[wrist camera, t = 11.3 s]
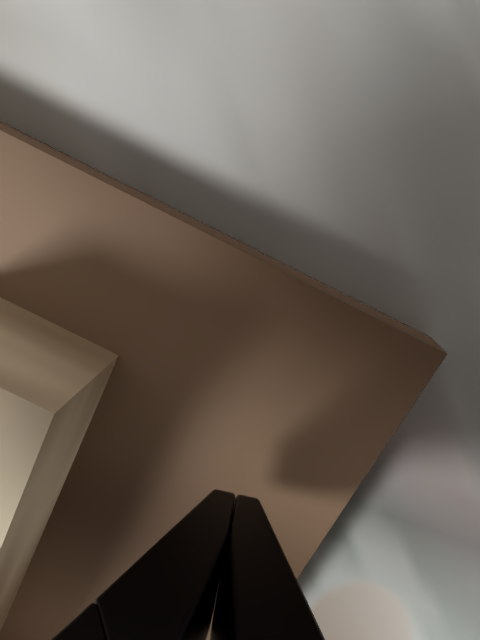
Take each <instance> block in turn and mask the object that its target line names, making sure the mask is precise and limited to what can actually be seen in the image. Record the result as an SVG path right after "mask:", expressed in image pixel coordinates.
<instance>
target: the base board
mask: <svg viewBox="0 0 480 640" xmlns="http://www.w3.org/2000/svg"><path fill="white" fill-rule="evenodd" d="M0 297H1V298H3V299H5V300H7V301H9V302H11V303H13V304H15V305H18V306H20V307H22V308H24V309H26V310H28V311H30V312H32V313H34V314H36V315H38V316H40V317H42V318H44V319H46V320H48V321H50V322H52V323H54V324H56V325H58V326H60V327H62V328H64V329H66V330H68V331H70V332H72V333H74V334H76V335H78V336H80V337H82V338H84V339H86V340H88V341H90V342H92V343H94V344H97V345H99V346H101V347H103V348H105V349H107V350H109V351H111V352H113V353H115V354H117V355H119V356H118V358H117V360H116V363H115V365H114V367H113V370H112V372H111V374H110V377H109V379H108V382H107V384H106V386H105V389H104V391H103V393H102V396H101V398H100V400H99V403H98V405H97V407H96V410H95V412H94V414H93V417H92V419H91V421H90V424H89V426H88V428H87V431H86V433H85V435H84V438H83V440H82V442H81V445H80V447H79V449H78V452H77V454H76V456H75V459H74V461H73V463H72V466H71V468H70V470H69V473H68V475H67V477H66V480H65V482H64V484H63V487H62V489H61V491H60V494H59V496H58V498H57V501H56V503H55V505H54V508H53V510H52V512H51V515H50V517H49V519H48V522H47V524H46V526H45V529H44V531H43V533H42V536H41V538H40V540H39V543H38V545H37V547H36V550H35V552H34V554H33V557H32V559H31V561H30V564H29V566H28V569H27V571H26V573H25V576H24V578H23V580H22V583H21V585H20V587H19V590H18V592H17V594H16V597H15V599H14V601H13V604H12V606H11V608H10V611H9V613H8V615H7V618H6V620H5V622H4V625H3V627H2V629H1V632H0V640H51V639H52V638H53V637H54V636H55V635H56V634H58V633H59V632H60V631H61V630H62V629H63V628H64V627H66V626H67V625H68V624H69V623H70V622H71V621H72V620H74V619H75V618H76V617H77V616H78V615H79V614H80V613H81V612H82V611H83V610H84V609H85V608H86V607H87V606H88V605H90V604H91V603H95V600H96V598H97V597H99V596H100V595H101V594H102V593H103V592H104V591H105V590H106V589H107V588H108V587H109V586H110V585H111V584H113V583H114V582H115V581H116V580H117V579H118V578H119V577H120V576H121V575H122V574H123V573H124V572H125V571H127V570H128V569H129V568H130V567H131V566H132V565H133V564H134V563H135V562H136V561H137V560H138V559H139V558H141V557H142V556H143V555H144V554H145V553H146V552H147V551H148V550H149V549H150V548H151V547H152V546H153V545H155V544H156V543H157V542H158V541H159V540H160V539H161V538H162V537H163V536H164V535H165V534H166V533H167V532H169V531H170V530H171V529H172V528H173V527H174V526H175V525H176V524H177V523H178V522H179V521H180V520H181V519H183V518H184V517H185V516H186V515H187V514H188V513H189V512H190V511H191V510H192V509H193V508H194V507H195V506H197V505H198V504H199V503H200V502H201V501H202V500H203V499H204V498H205V497H206V496H207V495H208V494H209V493H210V492H212V491H213V490H215V489H218V490H223V491H227V492H232V493H234V494H235V499H236V496H237V495H239V494H241V495H245V496H250V497H254V498H257V499H258V500H259V501H260V503H261V505H262V507H263V509H264V511H265V513H266V515H267V518H268V520H269V522H270V524H271V526H272V528H273V530H274V532H275V535H276V537H277V539H278V541H279V543H280V545H281V547H282V549H283V552H284V554H285V556H286V558H287V560H288V562H289V564H290V566H291V569H292V571H293V573H294V575H295V577H296V579H297V578H298V576H299V575H300V573H301V572H302V570H303V569H304V567H305V566H306V564H307V563H308V561H309V560H310V558H311V557H312V555H313V554H314V552H315V551H316V549H317V548H318V546H319V545H320V543H321V542H322V540H323V539H324V537H325V536H326V534H327V533H328V531H329V530H330V528H331V527H332V525H333V524H334V522H335V521H336V519H337V518H338V516H339V515H340V513H341V512H342V510H343V509H344V507H345V506H346V504H347V503H348V501H349V500H350V498H351V497H352V495H353V494H354V492H355V491H356V489H357V488H358V486H359V485H360V483H361V482H362V480H363V479H364V477H365V476H366V474H367V473H368V471H369V470H370V469H371V467H372V466H373V464H374V463H375V461H376V460H377V458H378V457H379V455H380V454H381V452H382V451H383V449H384V448H385V446H386V445H387V443H388V442H389V440H390V439H391V437H392V436H393V434H394V433H395V431H396V430H397V428H398V427H399V425H400V424H401V422H402V421H403V419H404V418H405V416H406V415H407V413H408V412H409V410H410V409H411V407H412V406H413V404H414V403H415V401H416V400H417V398H418V397H419V395H420V394H421V392H422V391H423V389H424V388H425V386H426V385H427V383H428V382H429V380H430V379H431V377H432V376H433V374H434V373H435V371H436V370H437V368H438V367H439V365H440V364H441V362H442V361H443V359H444V358H445V356H446V355H447V353H446V352H445V351H444V350H443V349H442V348H441V347H440V346H439V345H438V344H437V343H436V342H435V341H434V340H433V339H432V338H431V337H429V336H427V335H425V334H423V333H421V332H419V331H417V330H415V329H413V328H411V327H409V326H407V325H405V324H403V323H401V322H399V321H397V320H395V319H393V318H391V317H389V316H387V315H385V314H383V313H381V312H379V311H377V310H375V309H373V308H371V307H369V306H367V305H365V304H363V303H361V302H359V301H357V300H355V299H353V298H351V297H349V296H347V295H345V294H343V293H341V292H339V291H337V290H335V289H333V288H331V287H329V286H327V285H325V284H323V283H321V282H319V281H317V280H315V279H313V278H311V277H309V276H307V275H305V274H303V273H301V272H299V271H297V270H295V269H293V268H291V267H289V266H287V265H285V264H283V263H281V262H279V261H277V260H275V259H273V258H271V257H269V256H267V255H265V254H263V253H261V252H259V251H257V250H255V249H253V248H251V247H249V246H247V245H245V244H243V243H241V242H239V241H237V240H235V239H233V238H231V237H229V236H227V235H225V234H223V233H221V232H219V231H217V230H215V229H213V228H211V227H209V226H207V225H205V224H203V223H201V222H199V221H197V220H195V219H193V218H191V217H189V216H187V215H185V214H183V213H181V212H179V211H177V210H175V209H173V208H171V207H169V206H167V205H165V204H163V203H161V202H159V201H157V200H155V199H153V198H151V197H149V196H147V195H145V194H143V193H141V192H139V191H137V190H135V189H133V188H131V187H129V186H127V185H125V184H123V183H121V182H119V181H117V180H115V179H113V178H111V177H109V176H107V175H105V174H103V173H101V172H99V171H97V170H95V169H93V168H91V167H89V166H87V165H85V164H83V163H81V162H79V161H77V160H75V159H73V158H71V157H69V156H67V155H65V154H63V153H61V152H59V151H57V150H55V149H53V148H51V147H49V146H47V145H45V144H43V143H41V142H39V141H37V140H35V139H33V138H31V137H29V136H27V135H25V134H23V133H21V132H19V131H17V130H15V129H13V128H11V127H9V126H7V125H5V124H3V123H1V122H0ZM234 504H235V503H234ZM216 597H217V596H216ZM215 602H216V601H215ZM214 607H215V606H214ZM213 612H214V611H213ZM212 618H213V615H212ZM211 625H212V620H211V624H210V629H209V632H208V636H207V639H206V640H210V632H211Z"/></svg>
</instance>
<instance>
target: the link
mask: <svg viewBox="0 0 480 640" xmlns="http://www.w3.org/2000/svg"><path fill="white" fill-rule="evenodd" d="M118 356H119V355H117V354H115V353H113V352H111V351H109V350H107V349H105V348H103V347H101V346H99V345H97V344H94V343H92V342H90V341H88V340H86V339H84V338H82V337H80V336H78V335H76V334H74V333H72V332H70V331H68V330H66V329H64V328H62V327H60V326H58V325H56V324H54V323H52V322H50V321H48V320H46V319H44V318H42V317H40V316H38V315H36V314H34V313H32V312H30V311H28V310H26V309H24V308H22V307H20V306H18V305H15V304H13V303H11V302H9V301H7V300H5V299H3V298H1V297H0V632H1V629H2V627H3V625H4V622H5V620H6V618H7V615H8V613H9V611H10V608H11V606H12V604H13V601H14V599H15V597H16V594H17V592H18V590H19V587H20V585H21V583H22V580H23V578H24V576H25V573H26V571H27V569H28V566H29V564H30V561H31V559H32V557H33V554H34V552H35V550H36V547H37V545H38V543H39V540H40V538H41V536H42V533H43V531H44V529H45V526H46V524H47V522H48V519H49V517H50V515H51V512H52V510H53V508H54V505H55V503H56V501H57V498H58V496H59V494H60V491H61V489H62V487H63V484H64V482H65V480H66V477H67V475H68V473H69V470H70V468H71V466H72V463H73V461H74V459H75V456H76V454H77V452H78V449H79V447H80V445H81V442H82V440H83V438H84V435H85V433H86V431H87V428H88V426H89V424H90V421H91V419H92V417H93V414H94V412H95V410H96V407H97V405H98V403H99V400H100V398H101V396H102V393H103V391H104V389H105V386H106V384H107V382H108V379H109V377H110V374H111V372H112V370H113V367H114V365H115V363H116V360H117V358H118Z"/></svg>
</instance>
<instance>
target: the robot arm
mask: <svg viewBox="0 0 480 640" xmlns="http://www.w3.org/2000/svg"><path fill="white" fill-rule="evenodd" d="M234 503H235V504H234ZM216 596H217V597H216ZM215 601H216V602H215ZM214 606H215V607H214ZM213 611H214V612H213ZM212 615H213V618H212ZM211 620H212V625H211V632H210V640H325V639H324V637H323V634H322V632H321V630H320V628H319V626H318V624H317V622H316V619H315V617H314V615H313V613H312V611H311V609H310V607H309V605H308V602H307V600H306V598H305V596H304V594H303V592H302V590H301V588H300V586H299V583H298V581H297V579H296V577H295V575H294V573H293V571H292V569H291V566H290V564H289V562H288V560H287V558H286V556H285V554H284V552H283V549H282V547H281V545H280V543H279V541H278V539H277V537H276V535H275V532H274V530H273V528H272V526H271V524H270V522H269V520H268V518H267V515H266V513H265V511H264V509H263V507H262V505H261V503H260V501H259V500H258V499H257V498H254V497H250V496H245V495H241V494H239V495H237V496H236V499H235V494H234V493H232V492H227V491H223V490H218V489H215V490H213V491H212V492H210V493H209V494H208V495H207V496H206V497H205V498H204V499H203V500H202V501H201V502H200V503H199V504H198V505H197V506H195V507H194V508H193V509H192V510H191V511H190V512H189V513H188V514H187V515H186V516H185V517H184V518H183V519H181V520H180V521H179V522H178V523H177V524H176V525H175V526H174V527H173V528H172V529H171V530H170V531H169V532H167V533H166V534H165V535H164V536H163V537H162V538H161V539H160V540H159V541H158V542H157V543H156V544H155V545H153V546H152V547H151V548H150V549H149V550H148V551H147V552H146V553H145V554H144V555H143V556H142V557H141V558H139V559H138V560H137V561H136V562H135V563H134V564H133V565H132V566H131V567H130V568H129V569H128V570H127V571H125V572H124V573H123V574H122V575H121V576H120V577H119V578H118V579H117V580H116V581H115V582H114V583H113V584H111V585H110V586H109V587H108V588H107V589H106V590H105V591H104V592H103V593H102V594H101V595H100V596H99V597H97V598H96V600H95V603H91V604H90V605H88V606H87V607H86V608H85V609H84V610H83V611H82V612H81V613H80V614H79V615H78V616H77V617H76V618H75V619H74V620H72V621H71V622H70V623H69V624H68V625H67V626H66V627H64V628H63V629H62V630H61V631H60V632H59V633H58V634H56V635H55V636H54V637H53V638H52V639H51V640H206V639H207V636H208V632H209V629H210V624H211Z"/></svg>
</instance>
